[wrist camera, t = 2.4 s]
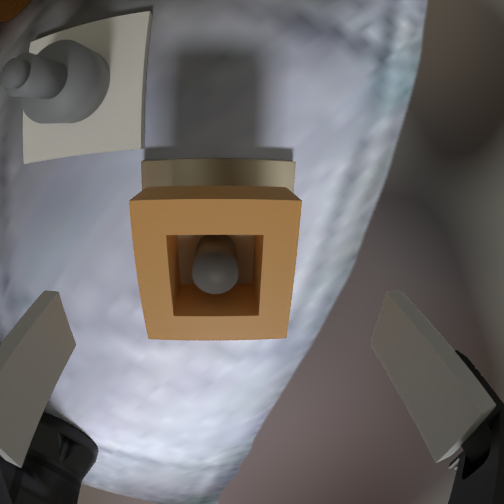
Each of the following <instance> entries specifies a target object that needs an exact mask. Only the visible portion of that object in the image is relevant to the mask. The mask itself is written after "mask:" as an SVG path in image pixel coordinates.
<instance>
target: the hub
mask: <svg viewBox="0 0 504 504" xmlns="http://www.w3.org/2000/svg"><path fill="white" fill-rule="evenodd" d="M151 23H152V14H151V12H150V11H146V12H139V13H133V14H127V15H122V16H117V17H112V18H107V19H103V20H98V21H94V22H90V23H87V24H83V25H79V26H76V27H72V28H69V29H66V30H63V31H60V32H57V33H54V34H51V35H48V36H45V37H43V38H40V39H38V40H35V41H32V42H31V44H30V49H29V53H23V54H21V55H19V56H18V57H17V58H13V59H11V60H10V61H8V62H7V63H6V65H5V66H4V68H3V70H2V73H1V77H0V81H1V85H2V86H3V87H5V89H6V92H7V93H8V94H9V95H10V96H14V97H20V100H21V105H22V108H23V156H24V164H27V163H33V162H38V161H44V160H50V159H56V158H62V157H69V156H76V155H84V154H92V153H100V152H110V151H121V150H133V149H143V148H144V118H145V90H146V74H147V60H148V49H149V40H150V31H151Z"/></svg>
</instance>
